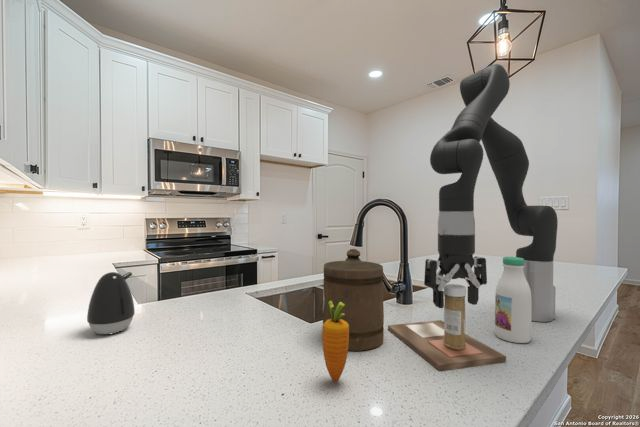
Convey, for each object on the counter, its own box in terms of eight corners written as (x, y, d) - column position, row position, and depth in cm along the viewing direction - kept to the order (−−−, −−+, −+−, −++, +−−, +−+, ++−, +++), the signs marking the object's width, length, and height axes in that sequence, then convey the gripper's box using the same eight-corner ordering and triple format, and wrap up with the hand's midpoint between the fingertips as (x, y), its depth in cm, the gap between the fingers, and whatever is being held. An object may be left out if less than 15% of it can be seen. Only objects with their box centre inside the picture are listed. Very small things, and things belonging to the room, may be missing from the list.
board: (440, 324, 87) (440, 319, 87) (505, 361, 66) (506, 354, 66) (387, 329, 83) (387, 324, 83) (439, 371, 62) (439, 363, 62)
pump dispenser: (144, 327, 84) (144, 270, 84) (103, 342, 74) (103, 278, 74) (119, 321, 88) (119, 267, 88) (78, 334, 79) (78, 274, 78)
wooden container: (349, 323, 88) (349, 244, 88) (395, 338, 77) (396, 249, 77) (310, 338, 77) (310, 249, 77) (357, 358, 67) (358, 255, 67)
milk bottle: (525, 334, 81) (526, 256, 80) (535, 346, 73) (536, 260, 73) (492, 330, 83) (493, 254, 83) (498, 341, 76) (499, 259, 76)
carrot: (320, 375, 60) (321, 297, 60) (346, 374, 60) (347, 296, 60) (323, 390, 55) (323, 305, 55) (351, 389, 55) (351, 304, 55)
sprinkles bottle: (469, 347, 69) (470, 286, 69) (457, 352, 66) (458, 289, 66) (451, 340, 73) (451, 282, 73) (438, 344, 70) (439, 284, 70)
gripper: (471, 230, 74) (470, 298, 75) (417, 231, 71) (417, 303, 71) (496, 232, 67) (496, 307, 67) (438, 234, 64) (438, 313, 64)
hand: (455, 305), depth 69 cm, fingers open, 8 cm apart
